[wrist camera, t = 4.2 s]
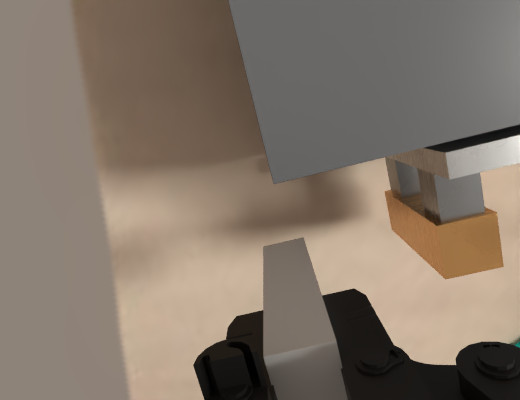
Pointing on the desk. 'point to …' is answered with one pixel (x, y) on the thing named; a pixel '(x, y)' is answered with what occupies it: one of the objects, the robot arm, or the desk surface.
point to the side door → (450, 200)
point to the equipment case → (375, 76)
